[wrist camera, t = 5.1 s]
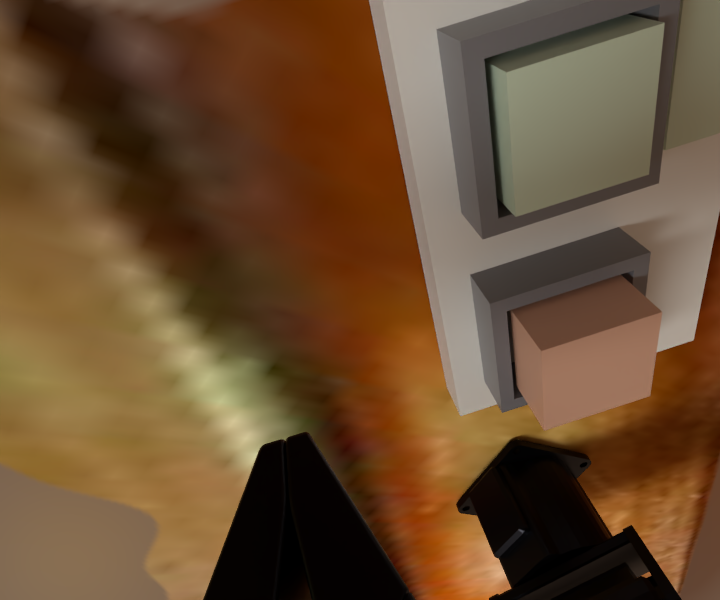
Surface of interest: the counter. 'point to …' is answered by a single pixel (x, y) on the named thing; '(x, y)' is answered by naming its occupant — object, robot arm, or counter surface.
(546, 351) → the terracotta button
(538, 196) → the sage button
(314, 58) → the counter surface
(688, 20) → the button panel
